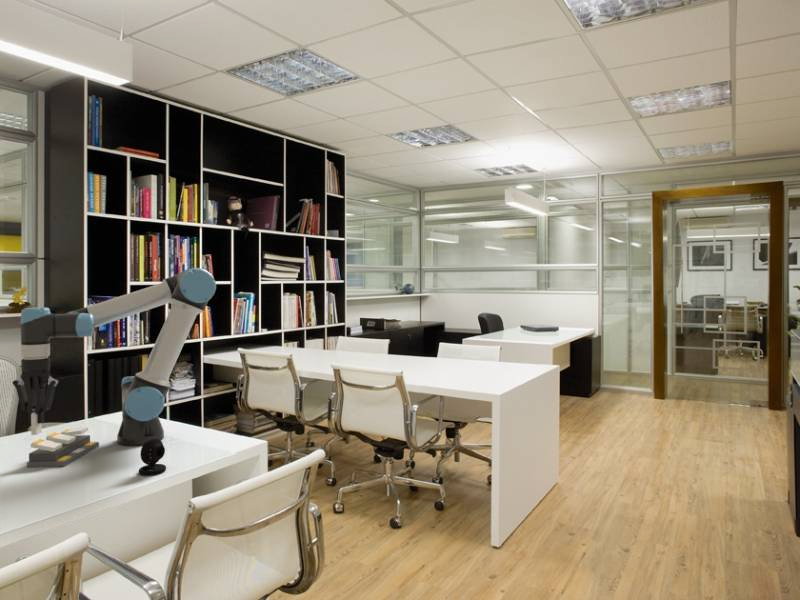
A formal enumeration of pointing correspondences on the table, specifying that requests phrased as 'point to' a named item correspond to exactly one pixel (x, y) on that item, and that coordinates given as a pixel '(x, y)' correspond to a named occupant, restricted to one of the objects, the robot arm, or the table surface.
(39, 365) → the robot arm
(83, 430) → the rocker
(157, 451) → the webcam
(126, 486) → the table surface
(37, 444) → the rocker
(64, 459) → the switch panel
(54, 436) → the rocker
